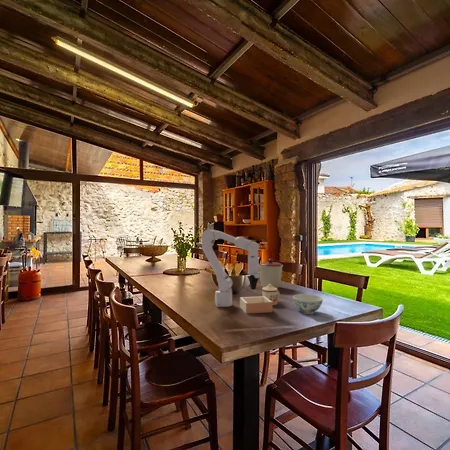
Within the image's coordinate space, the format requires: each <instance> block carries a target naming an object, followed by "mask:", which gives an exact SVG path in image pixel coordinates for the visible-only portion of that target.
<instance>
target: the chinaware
mask: <svg viewBox="0 0 450 450" xmlns="http://www.w3.org/2000/svg"><path fill="white" fill-rule="evenodd" d="M323 300H324V299H323V297H321V296H319V295H315V294H307V293H298V294H294V295H292V301H293V303H294V305H295V306H296V308H297V309H298V310H299V311H300V312H301V313H302V314H305V315H313V313H314V314H315V312H316V311H318V310H319V309H320V308H321V306H322V304H323V302H324V301H323Z"/></svg>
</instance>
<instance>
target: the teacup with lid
mask: <svg viewBox="0 0 450 450" xmlns="http://www.w3.org/2000/svg"><path fill="white" fill-rule="evenodd" d="M261 293H262V294H261V295H262V296H265V297H266V298H268V299H269V300H270V301H272V306H275V305H278V299H279V298H280V296H281V295H280V290H279V289H278V288H275V287H273V286H272V284H268V286H266V287H262V288H261Z"/></svg>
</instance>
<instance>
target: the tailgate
mask: <svg viewBox="0 0 450 450" xmlns="http://www.w3.org/2000/svg"><path fill="white" fill-rule="evenodd" d="M262 313H264V314H265V313H273V305H272V302H258V303H246V313H245V314H262Z"/></svg>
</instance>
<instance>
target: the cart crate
mask: <svg viewBox="0 0 450 450" xmlns="http://www.w3.org/2000/svg"><path fill="white" fill-rule="evenodd" d="M258 302H272V301H270V300H269V299H268V298H266V297H265V296H261V295H260V296H241V297H239V307H240V308H241V310H242V311H243V312H244V313H245V314H247V313H246V303H258Z"/></svg>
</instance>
